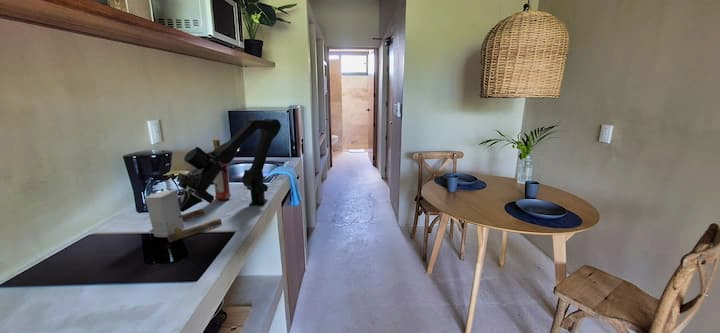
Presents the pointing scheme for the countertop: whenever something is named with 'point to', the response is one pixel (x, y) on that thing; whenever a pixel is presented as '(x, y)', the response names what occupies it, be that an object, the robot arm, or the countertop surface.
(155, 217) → the skincare box
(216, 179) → the red white cylinder
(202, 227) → the guide track
